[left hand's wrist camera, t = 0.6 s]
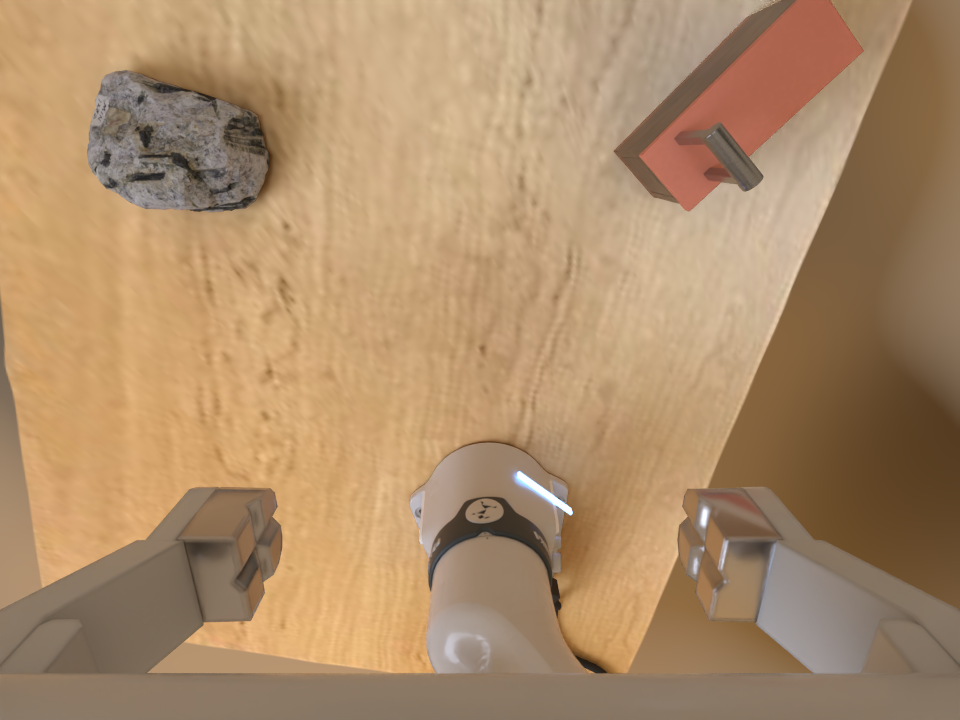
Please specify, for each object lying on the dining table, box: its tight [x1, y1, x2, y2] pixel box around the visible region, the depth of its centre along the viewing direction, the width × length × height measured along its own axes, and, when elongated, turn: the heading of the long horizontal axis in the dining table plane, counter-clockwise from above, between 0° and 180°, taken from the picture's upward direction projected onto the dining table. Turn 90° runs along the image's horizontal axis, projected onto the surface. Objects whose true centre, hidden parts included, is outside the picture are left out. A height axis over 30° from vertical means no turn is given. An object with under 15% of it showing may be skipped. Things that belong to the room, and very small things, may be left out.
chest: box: [614, 0, 796, 204], centre depth 45 cm, size 15×6×10 cm, turn 136°
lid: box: [639, 0, 863, 211], centre depth 37 cm, size 16×6×8 cm, turn 136°
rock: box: [87, 70, 269, 212], centre depth 47 cm, size 15×10×7 cm
